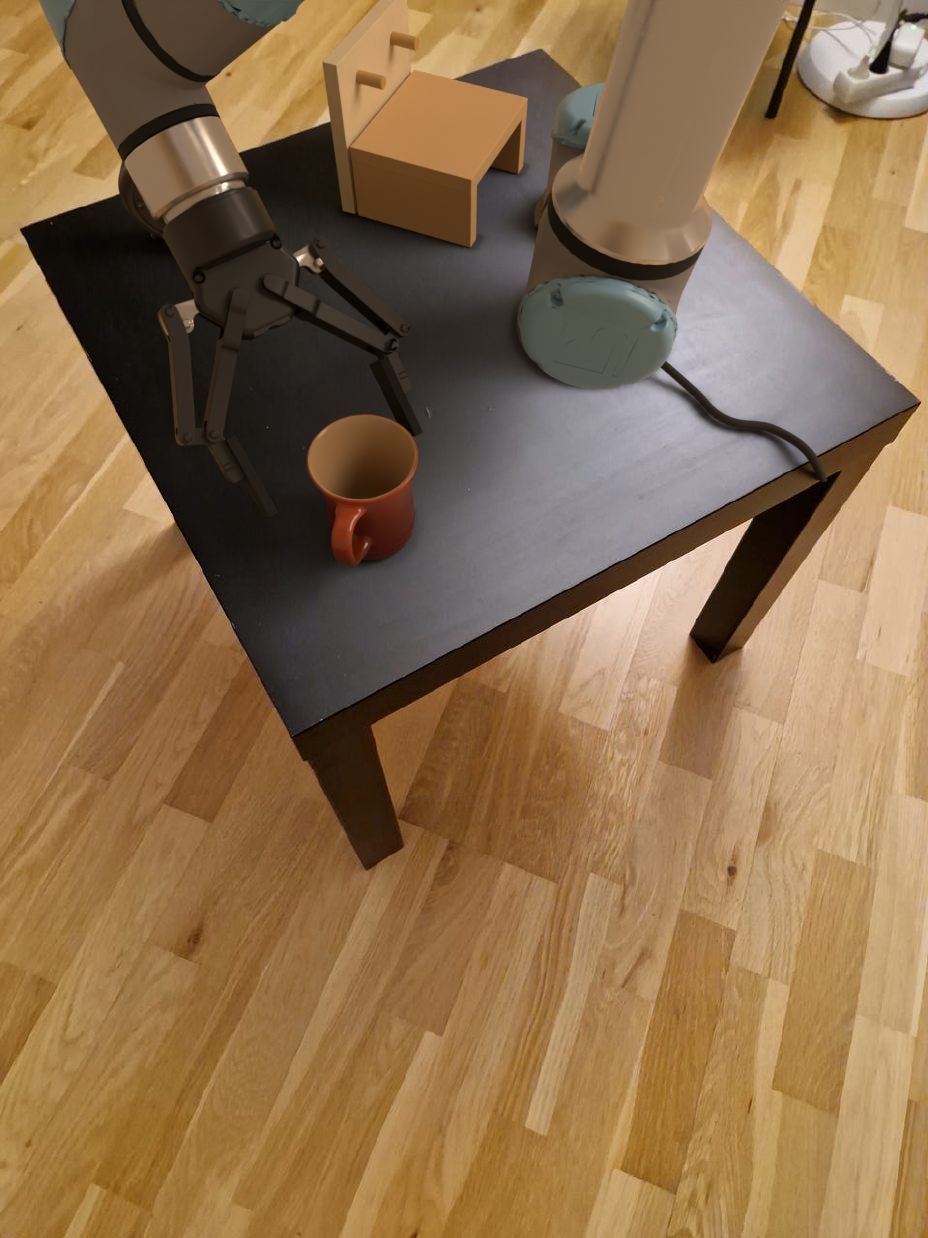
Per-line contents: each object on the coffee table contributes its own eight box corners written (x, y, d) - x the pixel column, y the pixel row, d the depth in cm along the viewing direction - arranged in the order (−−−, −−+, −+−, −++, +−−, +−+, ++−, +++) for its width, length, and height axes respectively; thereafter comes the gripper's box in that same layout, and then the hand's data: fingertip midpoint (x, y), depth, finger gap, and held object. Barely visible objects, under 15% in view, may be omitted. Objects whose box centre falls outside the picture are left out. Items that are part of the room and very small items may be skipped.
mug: (340, 484, 76) (323, 406, 67) (433, 500, 75) (429, 422, 66) (302, 594, 70) (278, 525, 61) (402, 612, 70) (393, 545, 61)
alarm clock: (244, 228, 93) (205, 76, 79) (239, 260, 91) (198, 109, 76) (147, 230, 93) (90, 78, 79) (139, 262, 90) (79, 111, 76)
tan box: (523, 166, 99) (533, 17, 85) (470, 247, 92) (472, 99, 78) (402, 134, 102) (393, -16, 88) (342, 210, 95) (321, 61, 81)
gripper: (338, 160, 66) (450, 407, 73) (41, 286, 59) (198, 545, 66) (368, 126, 59) (488, 401, 67) (37, 263, 52) (212, 554, 60)
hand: (344, 473), depth 67 cm, fingers open, 13 cm apart
